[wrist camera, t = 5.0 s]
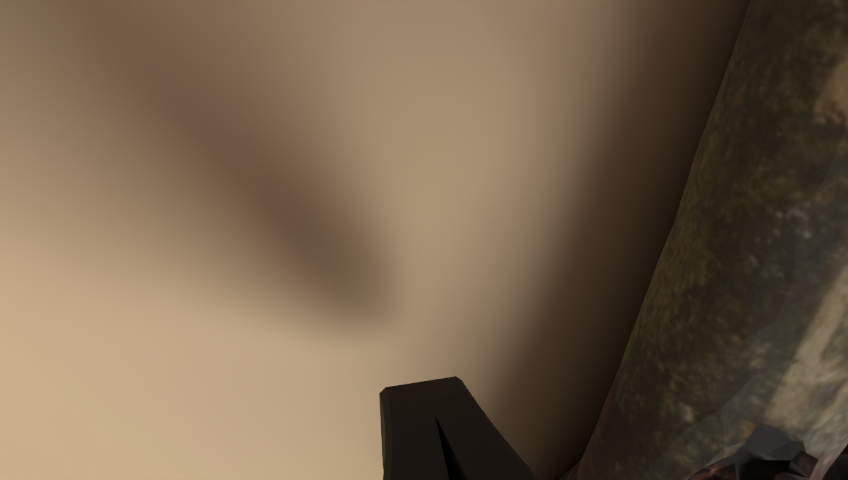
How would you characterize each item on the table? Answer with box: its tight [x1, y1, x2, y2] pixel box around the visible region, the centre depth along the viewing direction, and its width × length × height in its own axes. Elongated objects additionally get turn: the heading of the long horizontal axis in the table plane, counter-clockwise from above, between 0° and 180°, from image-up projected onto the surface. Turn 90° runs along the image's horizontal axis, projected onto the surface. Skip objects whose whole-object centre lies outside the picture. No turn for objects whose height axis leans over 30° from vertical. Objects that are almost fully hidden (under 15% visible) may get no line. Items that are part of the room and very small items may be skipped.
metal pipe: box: [558, 0, 848, 480], centre depth 14 cm, size 18×7×6 cm, turn 168°
